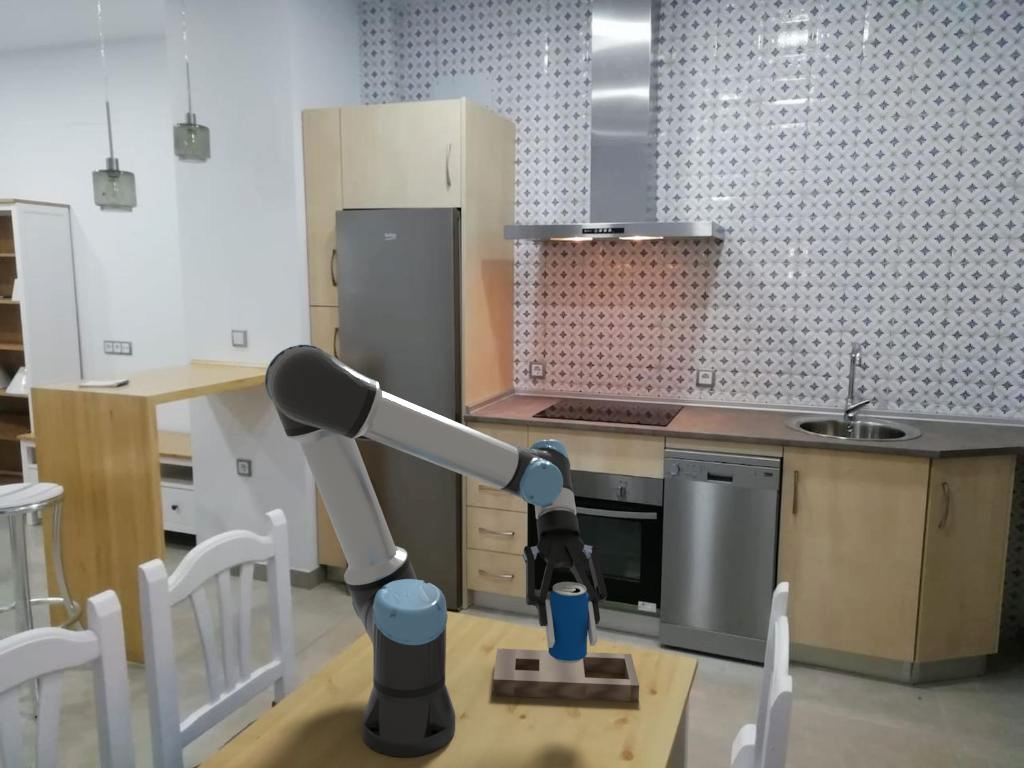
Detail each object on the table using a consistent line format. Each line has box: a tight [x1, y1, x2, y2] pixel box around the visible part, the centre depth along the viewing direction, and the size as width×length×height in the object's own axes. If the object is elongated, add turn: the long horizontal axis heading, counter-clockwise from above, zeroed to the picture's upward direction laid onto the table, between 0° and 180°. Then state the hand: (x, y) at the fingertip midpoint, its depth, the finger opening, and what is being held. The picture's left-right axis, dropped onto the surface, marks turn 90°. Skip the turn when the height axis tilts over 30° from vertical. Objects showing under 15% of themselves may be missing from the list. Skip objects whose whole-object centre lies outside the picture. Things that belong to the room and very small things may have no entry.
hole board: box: [492, 648, 640, 702], centre depth 139 cm, size 26×12×3 cm, turn 88°
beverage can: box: [548, 581, 589, 663], centre depth 125 cm, size 6×6×12 cm
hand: (572, 643), depth 122 cm, fingers closed on beverage can, 6 cm apart
